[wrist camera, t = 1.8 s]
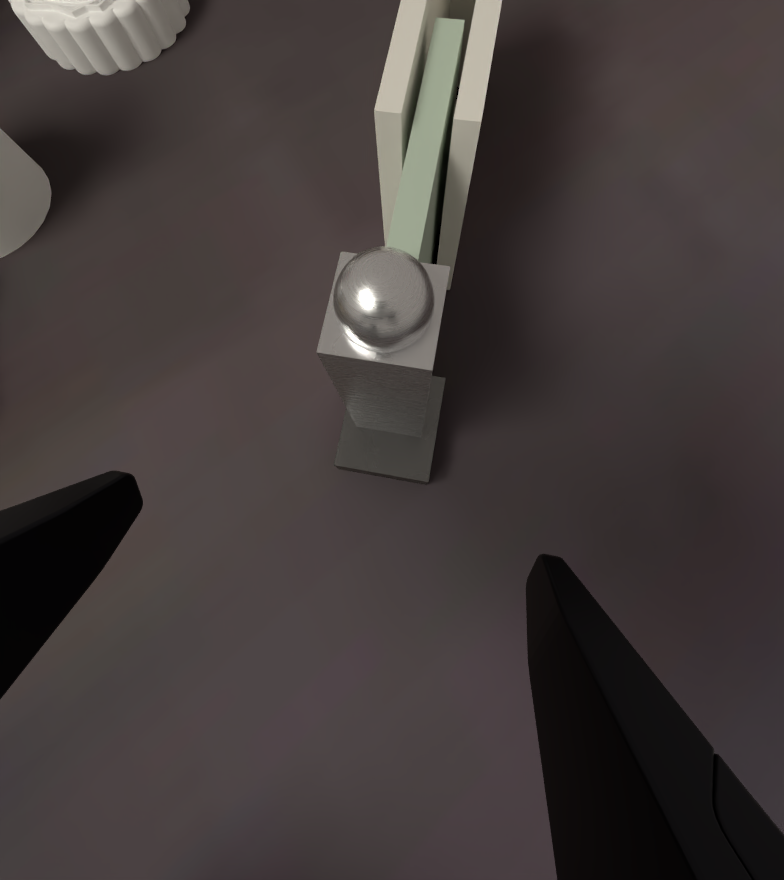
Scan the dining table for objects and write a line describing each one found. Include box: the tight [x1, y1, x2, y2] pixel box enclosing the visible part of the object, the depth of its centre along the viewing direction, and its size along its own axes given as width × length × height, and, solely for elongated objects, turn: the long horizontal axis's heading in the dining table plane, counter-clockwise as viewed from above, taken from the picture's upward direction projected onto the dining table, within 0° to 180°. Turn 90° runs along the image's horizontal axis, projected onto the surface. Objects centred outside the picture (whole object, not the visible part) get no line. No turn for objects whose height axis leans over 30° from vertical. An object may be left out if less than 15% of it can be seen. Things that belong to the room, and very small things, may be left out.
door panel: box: [387, 18, 465, 264], centre depth 19 cm, size 12×1×9 cm, turn 170°
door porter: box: [317, 246, 450, 485], centre depth 16 cm, size 6×5×12 cm
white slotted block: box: [374, 0, 502, 290], centre depth 20 cm, size 17×4×10 cm, turn 170°
